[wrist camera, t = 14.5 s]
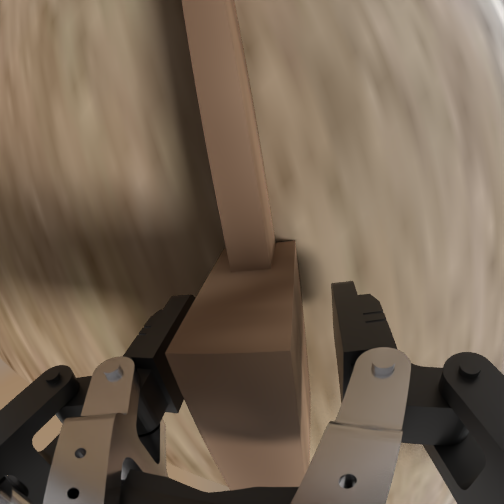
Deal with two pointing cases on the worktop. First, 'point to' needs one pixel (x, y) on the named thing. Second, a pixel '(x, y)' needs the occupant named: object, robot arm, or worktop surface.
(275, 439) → the walnut push stick
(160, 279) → the worktop surface
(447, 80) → the worktop surface
